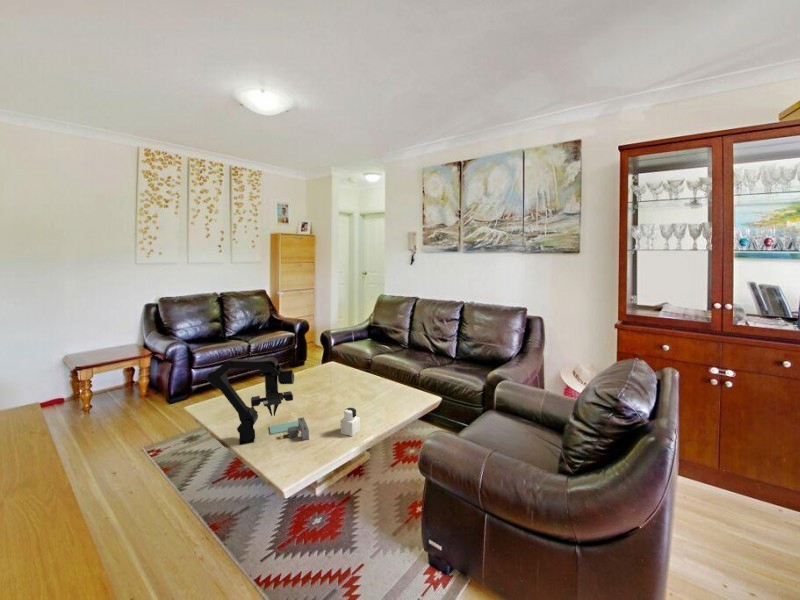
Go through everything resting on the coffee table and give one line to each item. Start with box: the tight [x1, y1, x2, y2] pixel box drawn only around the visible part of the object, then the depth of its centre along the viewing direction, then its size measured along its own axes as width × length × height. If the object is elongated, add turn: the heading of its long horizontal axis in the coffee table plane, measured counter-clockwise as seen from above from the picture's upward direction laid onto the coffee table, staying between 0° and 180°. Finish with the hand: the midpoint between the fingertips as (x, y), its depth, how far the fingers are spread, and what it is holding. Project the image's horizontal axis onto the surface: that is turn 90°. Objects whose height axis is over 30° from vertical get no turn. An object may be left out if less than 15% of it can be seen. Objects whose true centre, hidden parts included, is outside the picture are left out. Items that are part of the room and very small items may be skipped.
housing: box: [297, 417, 310, 441], centre depth 182 cm, size 3×15×5 cm, turn 24°
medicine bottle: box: [340, 407, 361, 437], centre depth 184 cm, size 7×7×12 cm
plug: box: [279, 427, 300, 440], centre depth 180 cm, size 9×4×4 cm, turn 114°
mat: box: [268, 420, 299, 435], centre depth 189 cm, size 14×9×1 cm, turn 114°
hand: (272, 415), depth 176 cm, fingers closed
